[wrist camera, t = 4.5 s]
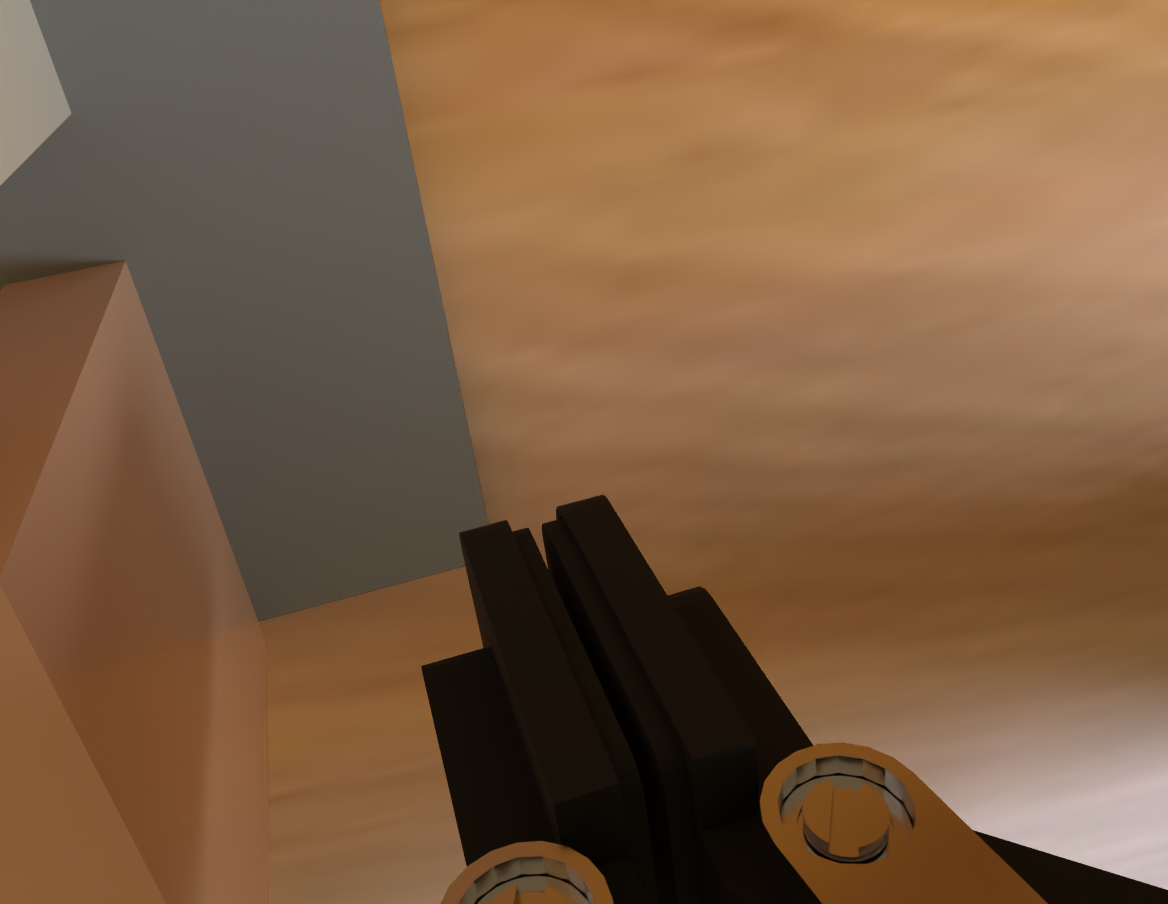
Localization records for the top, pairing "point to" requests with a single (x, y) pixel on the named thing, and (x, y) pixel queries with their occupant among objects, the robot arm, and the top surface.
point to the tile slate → (25, 87)
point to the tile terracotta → (118, 622)
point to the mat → (265, 273)
